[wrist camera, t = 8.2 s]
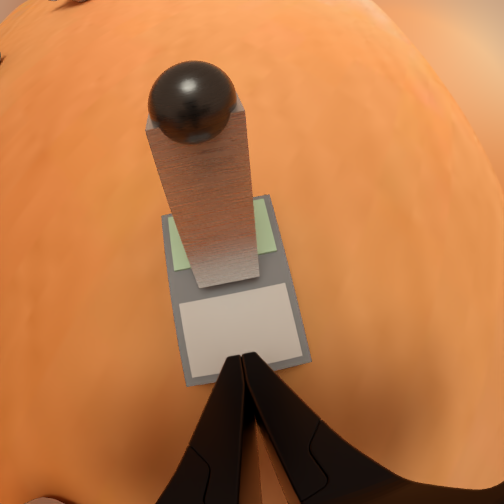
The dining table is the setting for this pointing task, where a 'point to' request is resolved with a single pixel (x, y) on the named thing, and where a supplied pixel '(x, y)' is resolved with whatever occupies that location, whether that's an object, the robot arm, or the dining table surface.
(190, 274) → the switch box
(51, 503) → the can
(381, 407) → the dining table surface
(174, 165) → the toggle lever
